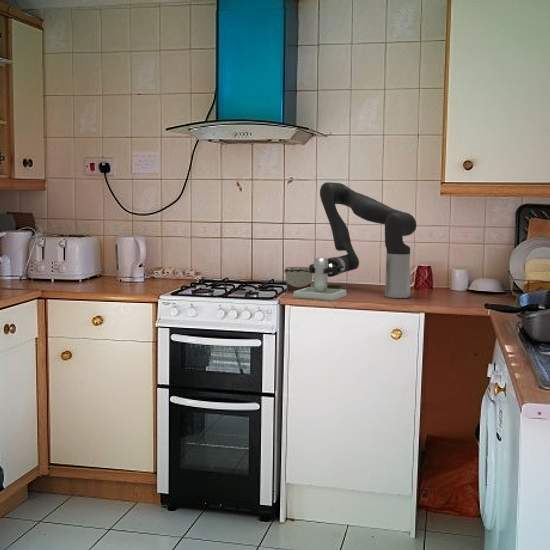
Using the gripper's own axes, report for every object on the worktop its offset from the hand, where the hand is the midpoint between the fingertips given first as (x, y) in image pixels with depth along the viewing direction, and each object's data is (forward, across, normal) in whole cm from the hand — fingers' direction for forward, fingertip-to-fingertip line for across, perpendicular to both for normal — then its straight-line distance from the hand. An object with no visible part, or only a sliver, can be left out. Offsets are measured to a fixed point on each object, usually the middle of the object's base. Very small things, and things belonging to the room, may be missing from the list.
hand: (318, 270), depth 295 cm
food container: (-12, -13, +11) cm, 21 cm away
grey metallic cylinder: (-3, 0, +8) cm, 9 cm away
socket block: (-17, 0, +11) cm, 20 cm away
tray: (-2, 0, +11) cm, 11 cm away
